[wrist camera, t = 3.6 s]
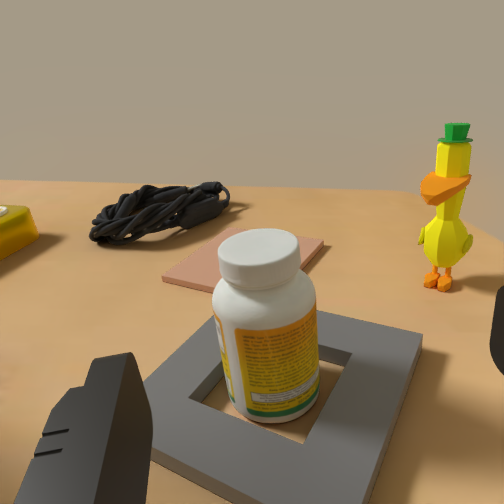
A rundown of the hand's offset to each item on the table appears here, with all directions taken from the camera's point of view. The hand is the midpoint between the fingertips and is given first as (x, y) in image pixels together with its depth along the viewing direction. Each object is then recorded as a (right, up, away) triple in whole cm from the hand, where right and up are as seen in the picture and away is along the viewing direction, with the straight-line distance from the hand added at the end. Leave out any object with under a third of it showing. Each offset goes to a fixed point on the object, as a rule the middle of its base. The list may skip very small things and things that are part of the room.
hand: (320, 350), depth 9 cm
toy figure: (+13, 0, +23) cm, 27 cm away
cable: (-13, +6, +43) cm, 46 cm away
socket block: (0, -6, +16) cm, 17 cm away
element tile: (-36, +1, +40) cm, 54 cm away
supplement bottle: (0, -6, +16) cm, 17 cm away
